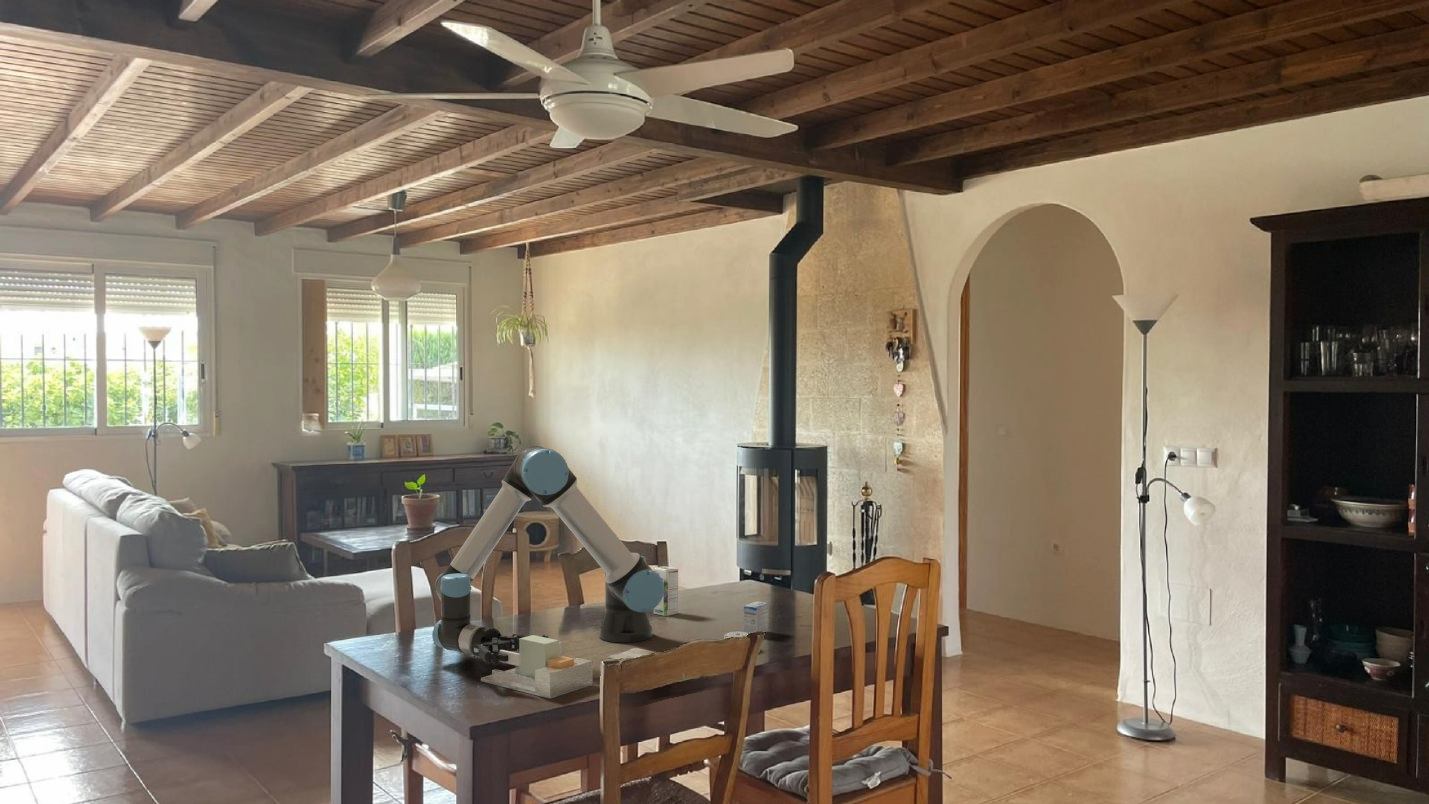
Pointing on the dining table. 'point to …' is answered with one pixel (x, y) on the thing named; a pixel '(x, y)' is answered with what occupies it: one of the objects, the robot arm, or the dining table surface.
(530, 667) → the block
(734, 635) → the mechanical component
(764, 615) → the medicine box
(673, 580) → the syrup box
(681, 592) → the dining table surface
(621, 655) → the washcloth
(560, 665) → the orange rectangular block
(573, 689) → the rail plate
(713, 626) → the dining table surface
